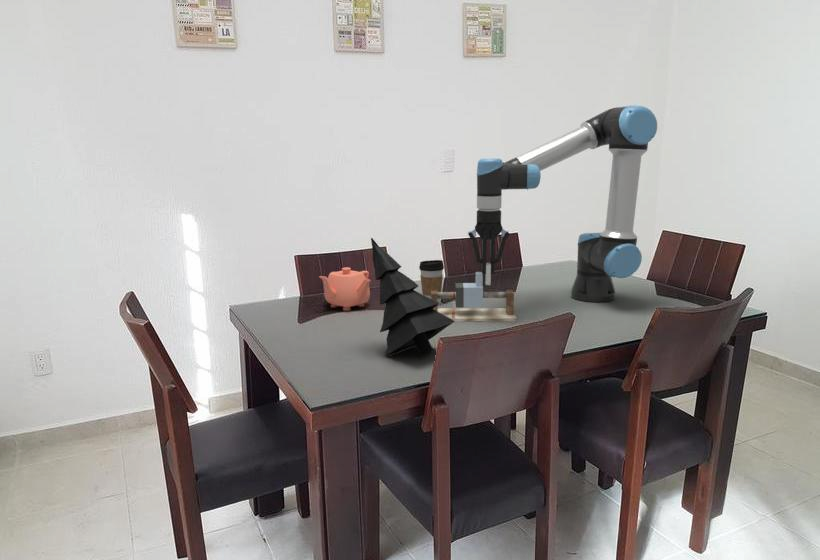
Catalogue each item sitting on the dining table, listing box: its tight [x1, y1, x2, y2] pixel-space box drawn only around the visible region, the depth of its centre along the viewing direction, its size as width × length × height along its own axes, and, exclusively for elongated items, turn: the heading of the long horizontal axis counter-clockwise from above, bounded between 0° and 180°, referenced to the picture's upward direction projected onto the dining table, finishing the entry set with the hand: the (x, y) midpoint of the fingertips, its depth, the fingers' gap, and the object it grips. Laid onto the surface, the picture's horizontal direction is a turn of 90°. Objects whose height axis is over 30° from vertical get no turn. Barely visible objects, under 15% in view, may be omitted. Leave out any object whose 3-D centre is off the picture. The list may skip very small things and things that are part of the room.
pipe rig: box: [431, 289, 518, 323], centre depth 199 cm, size 27×12×8 cm, turn 87°
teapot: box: [319, 266, 371, 312], centre depth 213 cm, size 16×17×14 cm
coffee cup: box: [418, 259, 445, 306], centre depth 215 cm, size 8×8×15 cm
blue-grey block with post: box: [462, 271, 484, 308], centre depth 198 cm, size 6×6×10 cm
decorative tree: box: [370, 237, 455, 357], centre depth 167 cm, size 15×15×35 cm
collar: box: [454, 282, 465, 308], centre depth 199 cm, size 2×6×6 cm, turn 178°
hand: (487, 284), depth 198 cm, fingers closed
